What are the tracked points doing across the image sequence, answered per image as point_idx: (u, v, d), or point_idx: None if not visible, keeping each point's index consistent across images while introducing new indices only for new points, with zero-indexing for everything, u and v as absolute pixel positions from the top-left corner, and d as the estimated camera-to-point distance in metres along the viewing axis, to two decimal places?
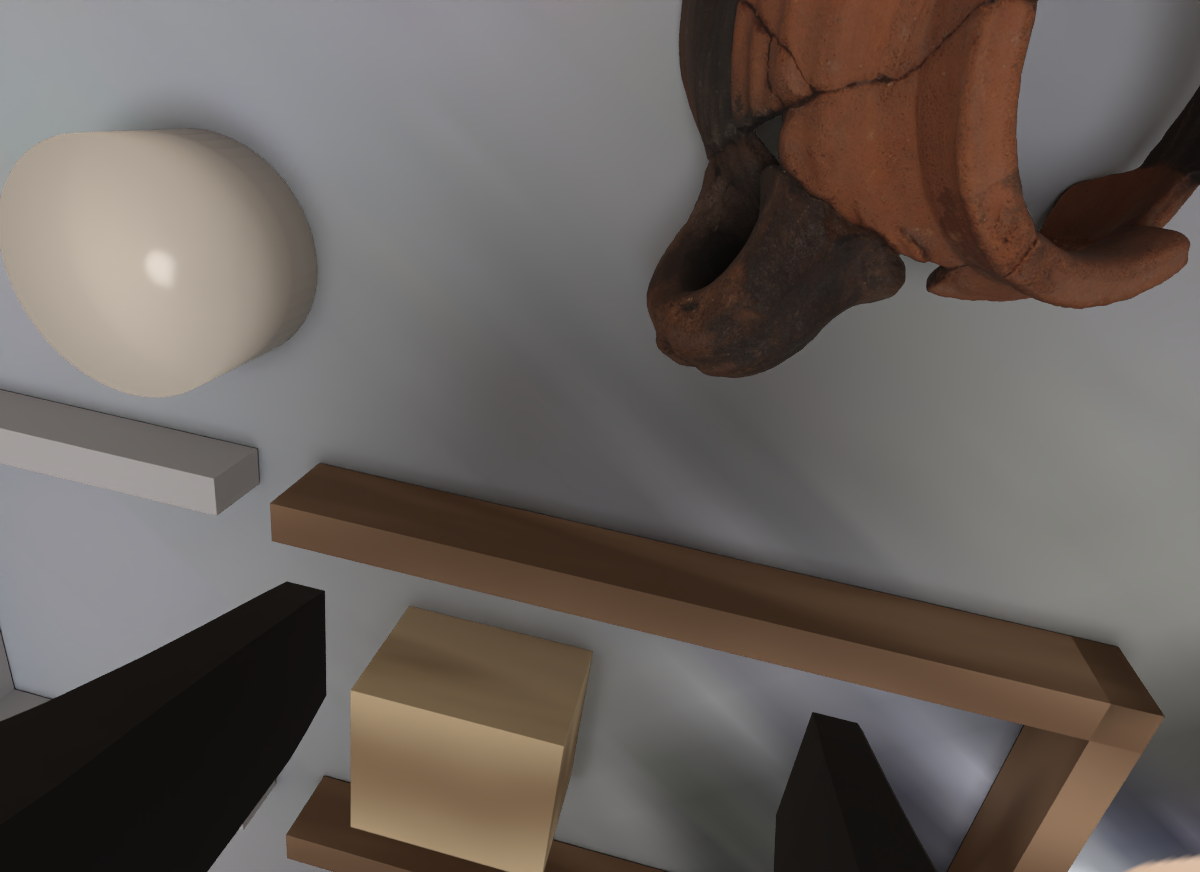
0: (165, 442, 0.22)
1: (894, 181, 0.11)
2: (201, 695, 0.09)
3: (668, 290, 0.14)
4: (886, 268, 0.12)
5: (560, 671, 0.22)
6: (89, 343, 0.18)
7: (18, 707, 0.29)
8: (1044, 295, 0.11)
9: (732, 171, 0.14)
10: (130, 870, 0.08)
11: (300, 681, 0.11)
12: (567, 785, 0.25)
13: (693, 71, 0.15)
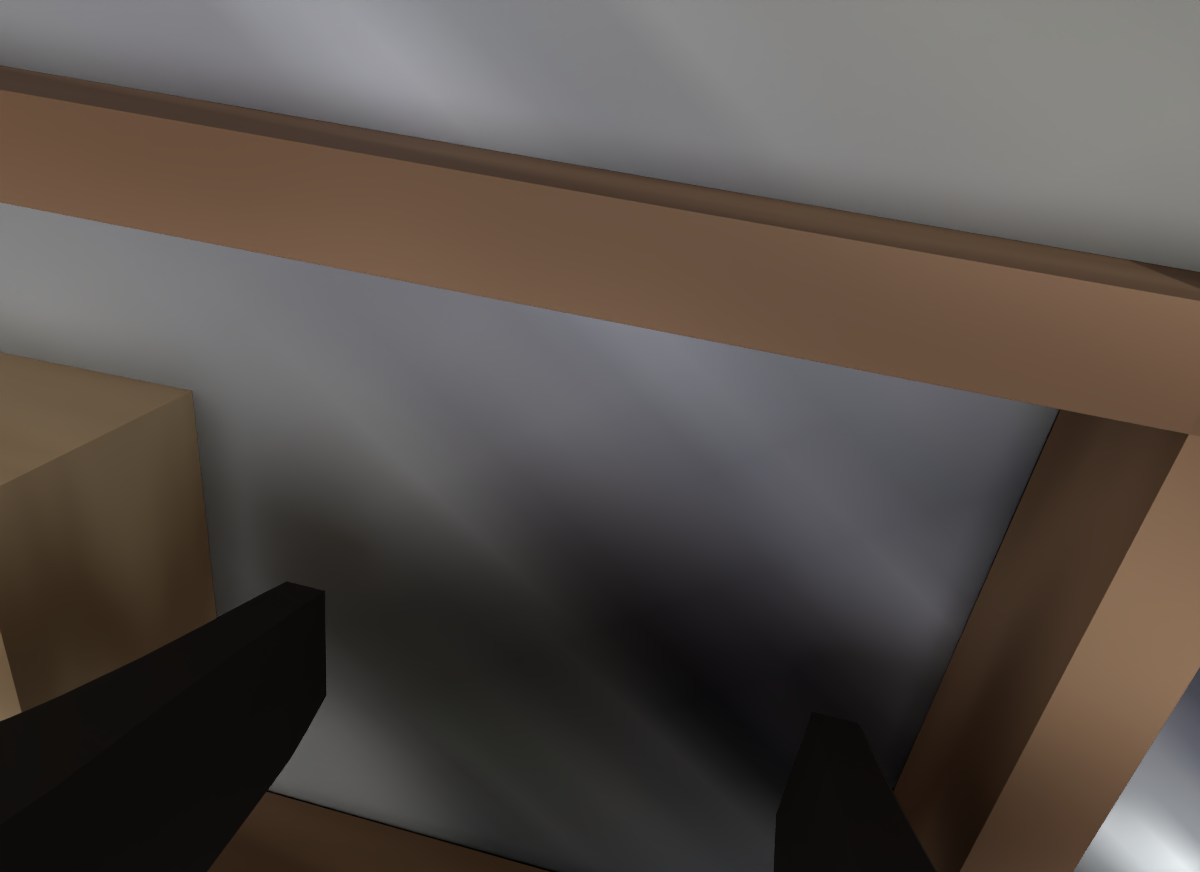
0: None
1: None
2: (200, 695, 0.09)
3: None
4: None
5: (91, 408, 0.11)
6: None
7: None
8: None
9: None
10: (130, 870, 0.08)
11: (300, 681, 0.11)
12: None
13: None
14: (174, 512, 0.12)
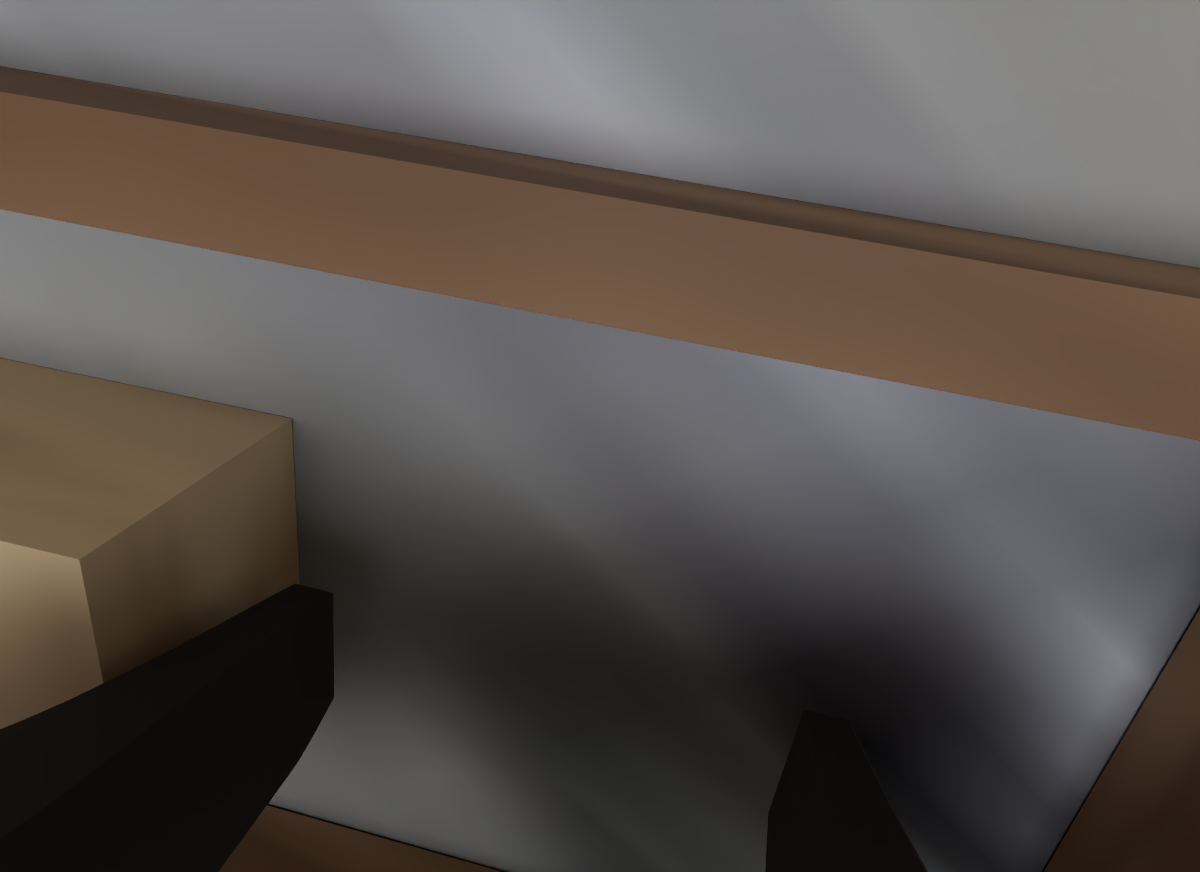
0: None
1: None
2: (211, 697, 0.08)
3: None
4: None
5: (187, 445, 0.10)
6: None
7: None
8: None
9: None
10: None
11: (308, 683, 0.11)
12: None
13: None
14: (265, 551, 0.12)
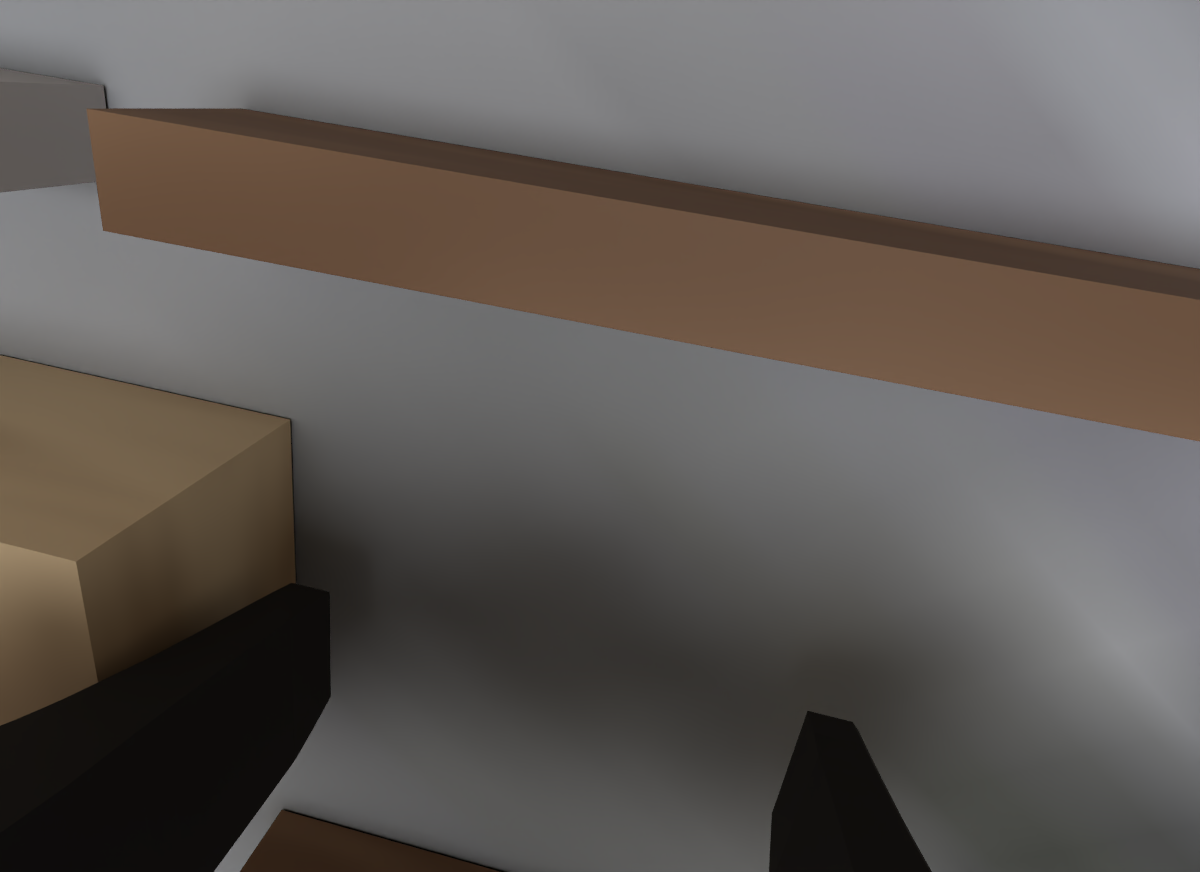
0: None
1: None
2: (206, 696, 0.08)
3: None
4: None
5: (184, 446, 0.10)
6: None
7: None
8: None
9: None
10: None
11: (305, 682, 0.11)
12: None
13: None
14: (261, 552, 0.11)
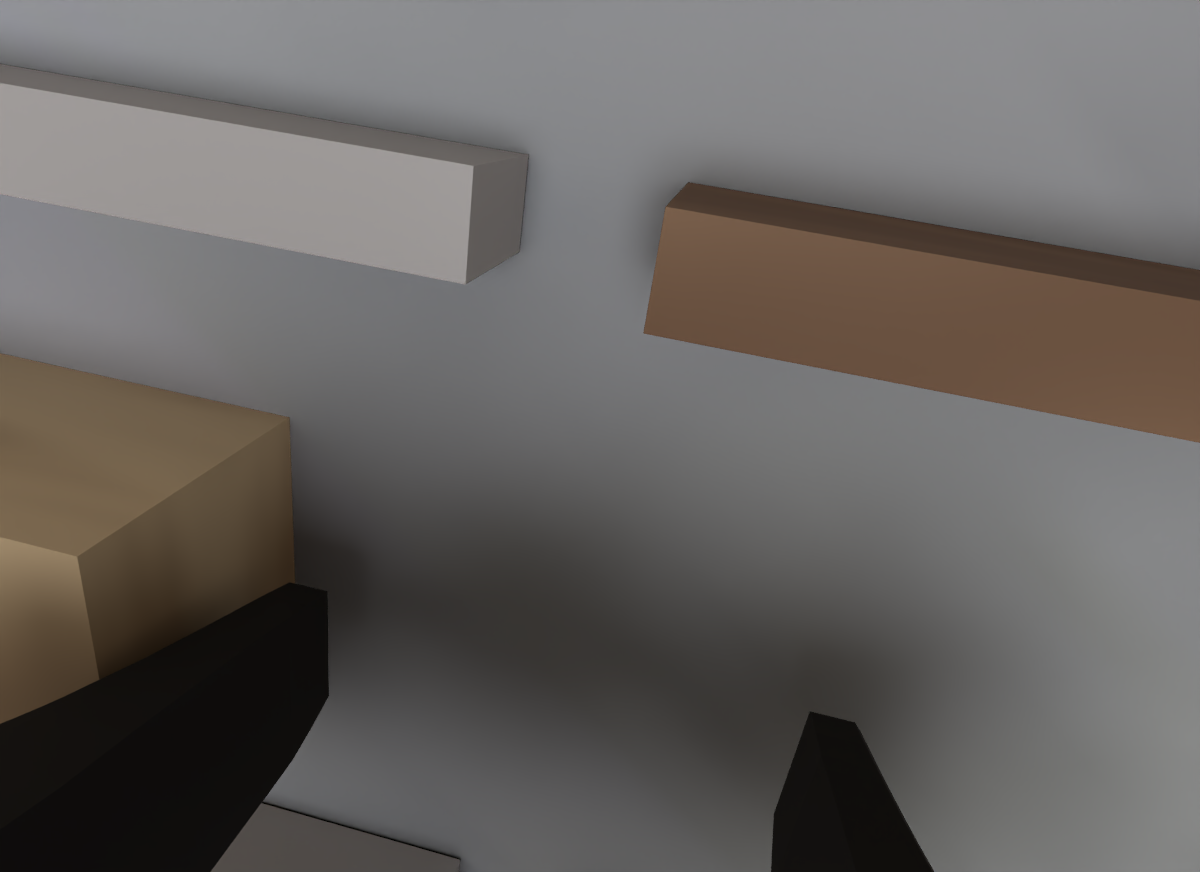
0: (312, 124, 0.09)
1: None
2: (204, 695, 0.09)
3: None
4: None
5: (184, 442, 0.10)
6: None
7: None
8: None
9: None
10: (133, 871, 0.08)
11: (303, 682, 0.11)
12: None
13: None
14: (261, 549, 0.12)
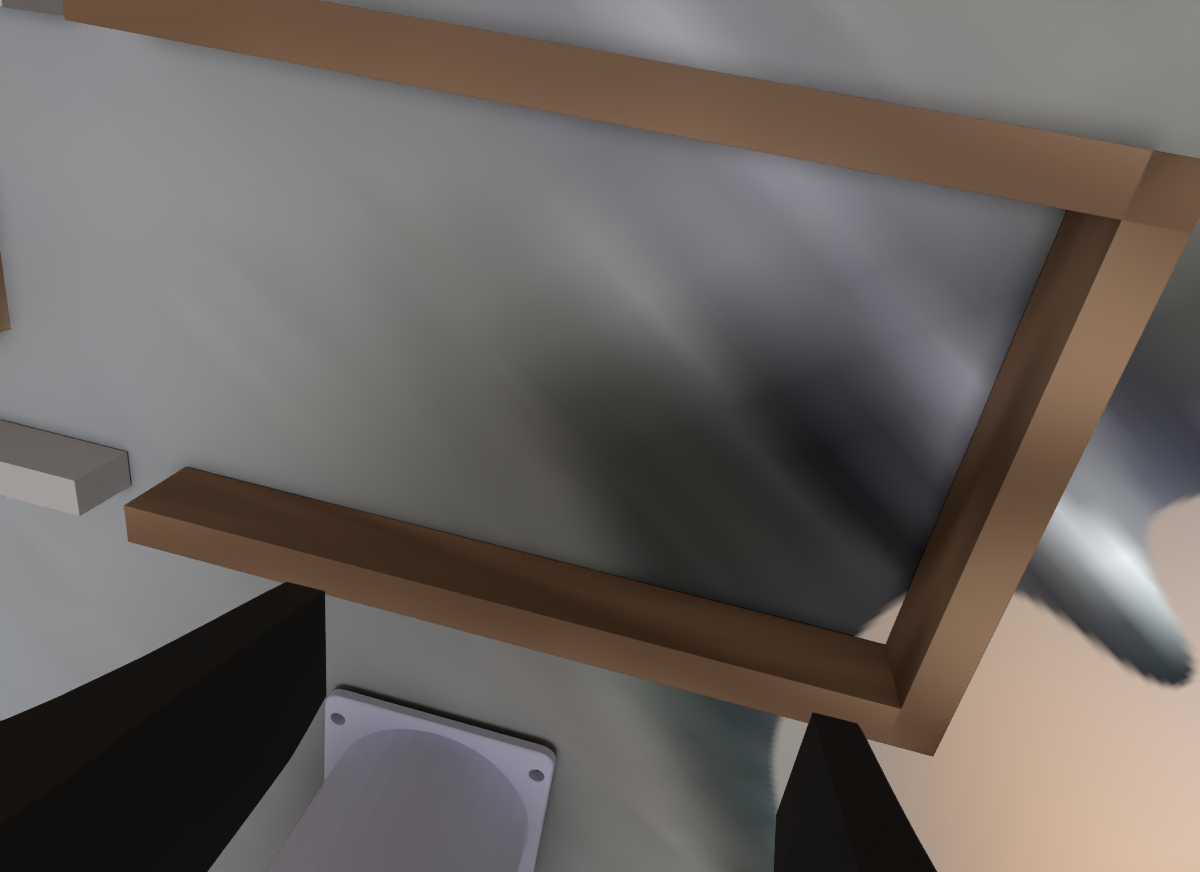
0: None
1: None
2: (202, 694, 0.09)
3: None
4: None
5: None
6: None
7: None
8: None
9: None
10: (130, 870, 0.08)
11: (300, 681, 0.11)
12: None
13: None
14: None
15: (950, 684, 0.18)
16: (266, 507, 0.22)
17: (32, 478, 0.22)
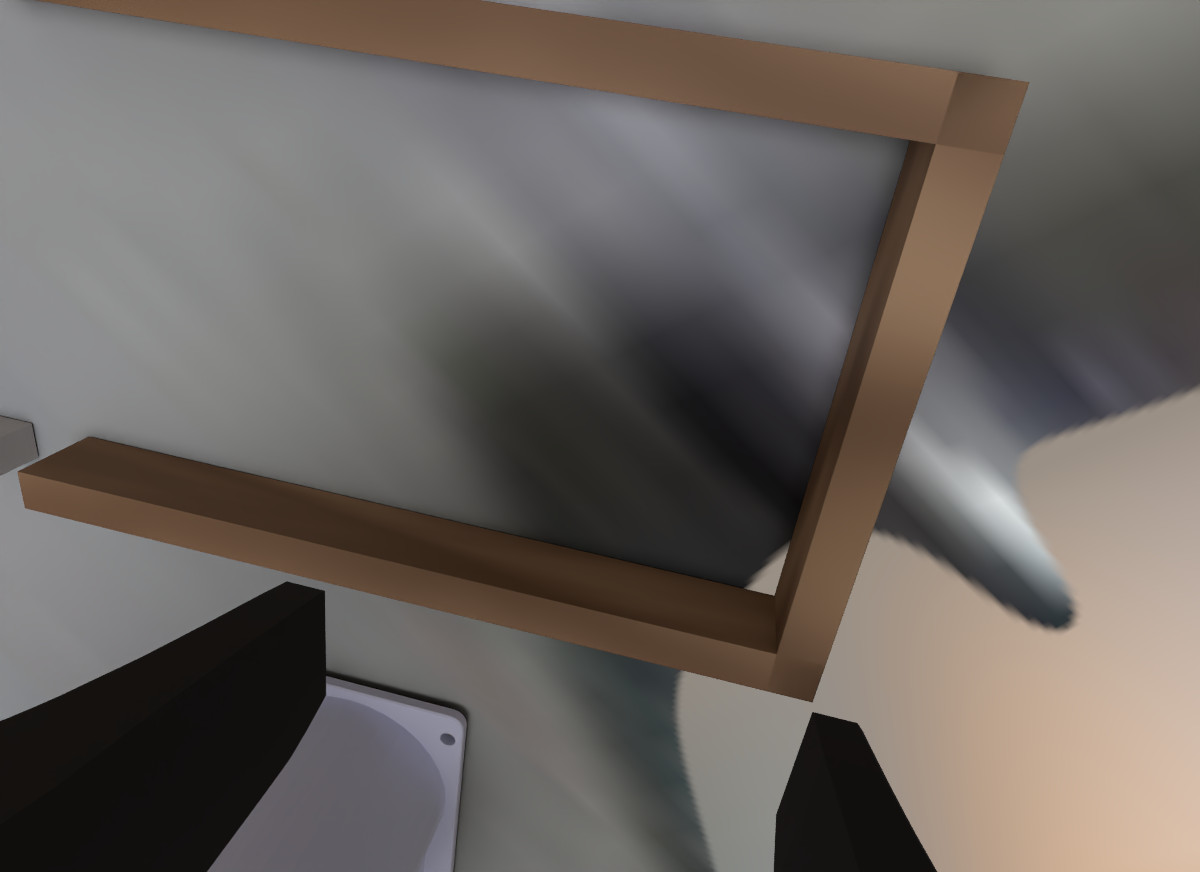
0: None
1: None
2: (200, 695, 0.09)
3: None
4: None
5: None
6: None
7: None
8: None
9: None
10: (130, 870, 0.08)
11: (300, 681, 0.11)
12: None
13: None
14: None
15: (821, 627, 0.18)
16: (163, 473, 0.22)
17: None
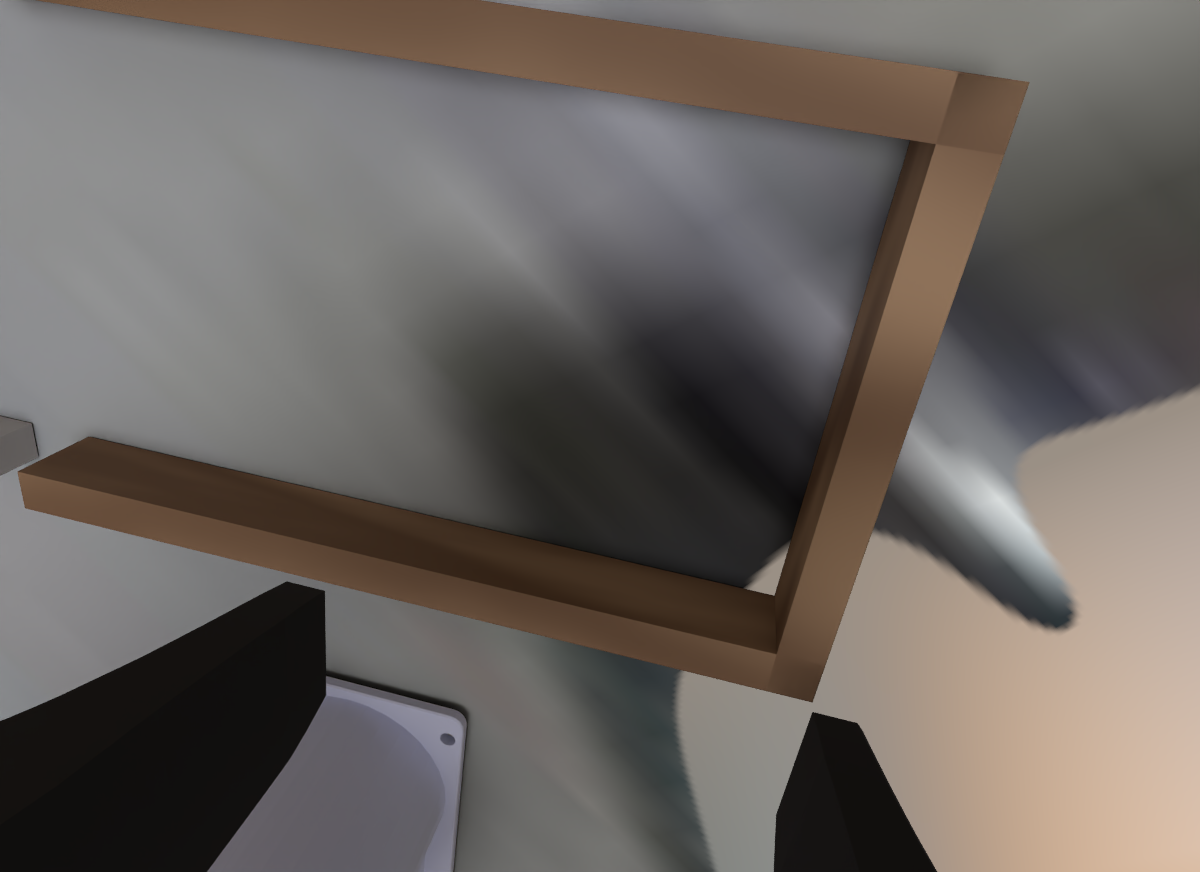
0: None
1: None
2: (200, 695, 0.09)
3: None
4: None
5: None
6: None
7: None
8: None
9: None
10: (130, 870, 0.08)
11: (300, 681, 0.11)
12: None
13: None
14: None
15: (821, 627, 0.18)
16: (163, 473, 0.22)
17: None
